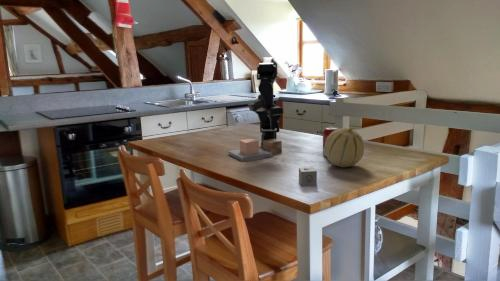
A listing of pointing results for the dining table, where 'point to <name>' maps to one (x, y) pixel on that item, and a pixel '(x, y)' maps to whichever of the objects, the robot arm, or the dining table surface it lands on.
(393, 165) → the dining table surface
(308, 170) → the grey cube
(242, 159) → the base board
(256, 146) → the terracotta brick
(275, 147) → the walnut brick
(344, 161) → the cantaloupe
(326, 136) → the soda can
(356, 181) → the dining table surface
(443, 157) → the dining table surface
